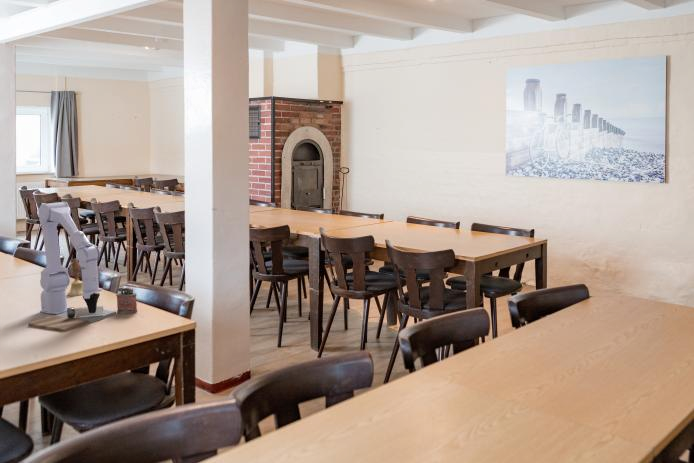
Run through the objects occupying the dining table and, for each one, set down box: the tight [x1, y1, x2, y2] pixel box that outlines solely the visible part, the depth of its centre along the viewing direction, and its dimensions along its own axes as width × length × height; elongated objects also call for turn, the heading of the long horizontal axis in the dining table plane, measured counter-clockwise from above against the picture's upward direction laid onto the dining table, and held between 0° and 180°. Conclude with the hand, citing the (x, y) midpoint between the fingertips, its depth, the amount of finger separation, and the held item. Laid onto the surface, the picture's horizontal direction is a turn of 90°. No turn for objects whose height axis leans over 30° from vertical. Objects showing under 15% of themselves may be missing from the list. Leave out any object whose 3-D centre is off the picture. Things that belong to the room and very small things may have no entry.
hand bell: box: [67, 258, 84, 297], centre depth 305 cm, size 8×8×16 cm
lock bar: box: [66, 305, 104, 318], centre depth 263 cm, size 13×3×3 cm, turn 108°
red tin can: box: [115, 286, 138, 314], centre depth 273 cm, size 8×3×10 cm, turn 84°
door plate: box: [54, 309, 117, 324], centre depth 268 cm, size 18×14×1 cm
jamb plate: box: [27, 315, 90, 333], centre depth 256 cm, size 18×12×1 cm, turn 65°
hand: (92, 313), depth 262 cm, fingers closed
